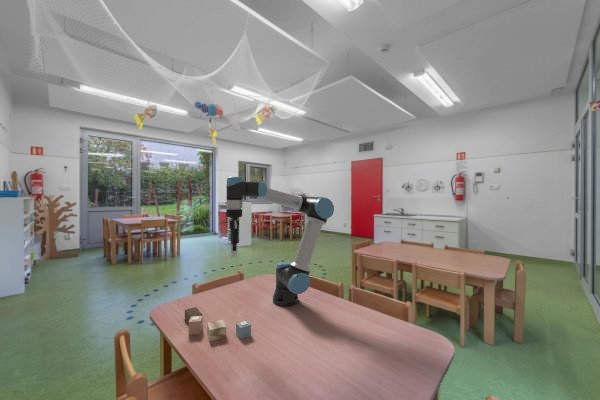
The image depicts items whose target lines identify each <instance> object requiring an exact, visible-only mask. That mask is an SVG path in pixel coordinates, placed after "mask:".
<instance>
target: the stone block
mask: <svg viewBox="0 0 600 400" xmlns="http://www.w3.org/2000/svg"><path fill="white" fill-rule="evenodd" d="M192 316H203V313H202V312H201V311H200V309H199V308H198V307H196V306H195V307H190V308H186V309H184V319H185V320H186V321H187V324H189V320H190V318H191V317H192Z"/></svg>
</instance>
